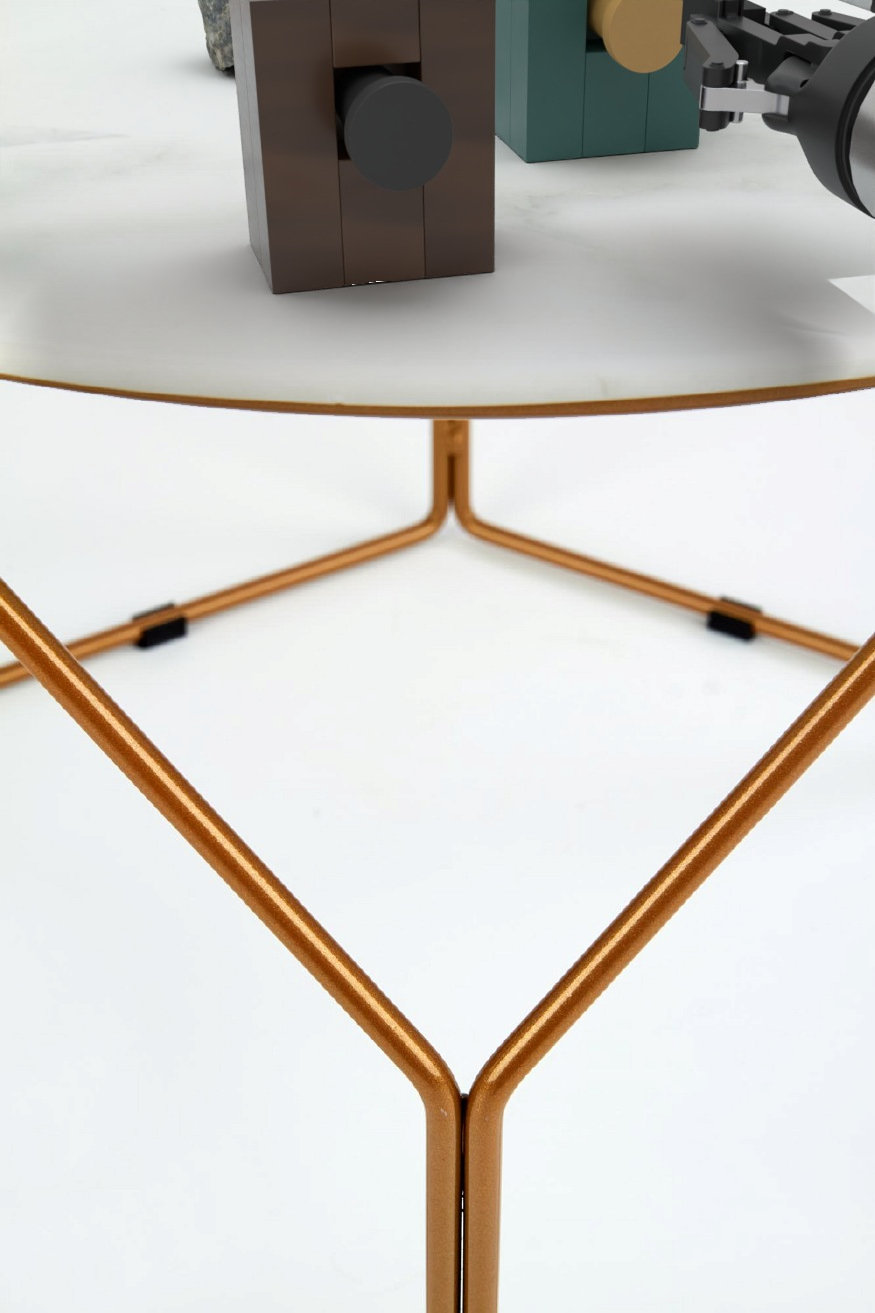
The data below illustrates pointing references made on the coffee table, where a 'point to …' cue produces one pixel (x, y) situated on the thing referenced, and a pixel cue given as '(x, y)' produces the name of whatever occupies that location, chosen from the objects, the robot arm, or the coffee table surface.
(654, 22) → the knob
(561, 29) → the block
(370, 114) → the knob
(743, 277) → the coffee table surface
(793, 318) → the coffee table surface
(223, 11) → the rock
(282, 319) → the coffee table surface
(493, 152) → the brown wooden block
